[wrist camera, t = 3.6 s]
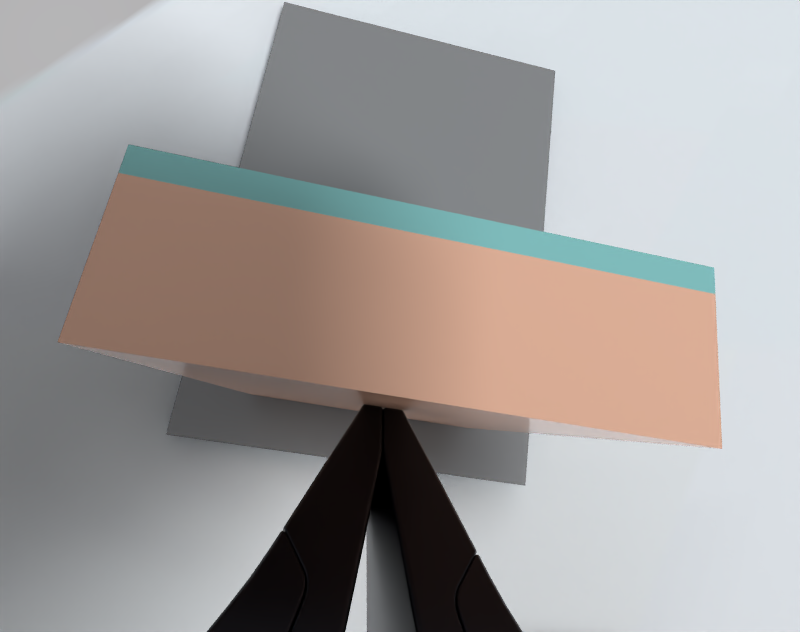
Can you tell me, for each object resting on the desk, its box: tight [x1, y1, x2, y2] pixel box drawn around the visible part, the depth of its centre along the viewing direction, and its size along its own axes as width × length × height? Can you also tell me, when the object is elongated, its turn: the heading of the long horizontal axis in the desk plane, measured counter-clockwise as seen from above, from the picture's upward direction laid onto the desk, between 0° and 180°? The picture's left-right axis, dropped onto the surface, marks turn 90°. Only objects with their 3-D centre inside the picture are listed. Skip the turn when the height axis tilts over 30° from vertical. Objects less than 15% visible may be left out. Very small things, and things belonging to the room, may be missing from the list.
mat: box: [166, 2, 555, 485], centre depth 18 cm, size 19×13×1 cm
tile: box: [58, 145, 722, 449], centre depth 11 cm, size 2×8×11 cm, turn 81°
